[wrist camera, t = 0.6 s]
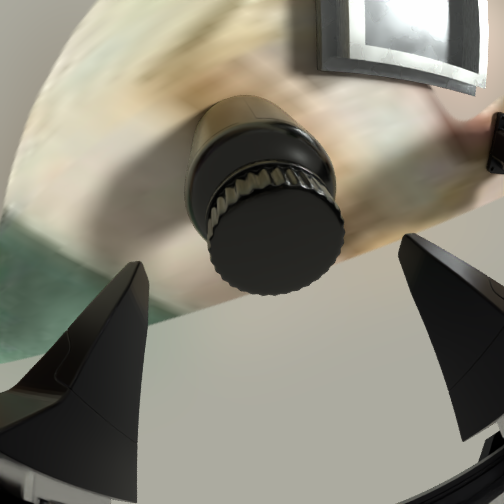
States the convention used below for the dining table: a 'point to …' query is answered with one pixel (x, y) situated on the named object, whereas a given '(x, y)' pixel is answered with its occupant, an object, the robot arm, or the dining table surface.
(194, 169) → the supplement bottle
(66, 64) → the dining table surface
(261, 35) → the dining table surface
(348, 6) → the gray square tray
